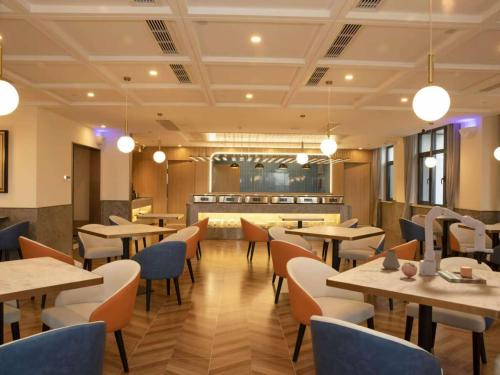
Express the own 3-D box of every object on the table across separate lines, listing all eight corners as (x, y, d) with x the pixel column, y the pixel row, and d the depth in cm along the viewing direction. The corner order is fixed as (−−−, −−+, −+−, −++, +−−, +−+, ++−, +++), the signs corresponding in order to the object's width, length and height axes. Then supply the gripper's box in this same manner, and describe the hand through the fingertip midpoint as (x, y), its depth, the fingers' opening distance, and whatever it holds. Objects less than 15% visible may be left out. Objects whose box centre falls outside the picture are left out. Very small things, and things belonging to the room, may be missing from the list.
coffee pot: (399, 268, 274) (400, 246, 274) (400, 271, 263) (400, 248, 264) (367, 265, 282) (368, 244, 282) (366, 268, 271) (367, 246, 271)
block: (463, 276, 241) (463, 267, 241) (460, 274, 246) (460, 266, 246) (472, 276, 241) (472, 268, 241) (468, 274, 246) (469, 266, 246)
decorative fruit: (420, 278, 242) (420, 262, 242) (411, 279, 238) (412, 263, 238) (407, 275, 250) (407, 259, 250) (398, 276, 246) (399, 260, 246)
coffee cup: (444, 269, 271) (444, 247, 271) (429, 269, 273) (429, 247, 273) (440, 267, 280) (440, 245, 280) (426, 266, 282) (426, 245, 282)
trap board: (449, 281, 234) (449, 278, 234) (437, 273, 257) (437, 270, 257) (486, 283, 231) (486, 280, 231) (471, 275, 254) (471, 272, 254)
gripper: (469, 242, 240) (469, 264, 240) (495, 242, 237) (495, 265, 237) (465, 240, 247) (464, 262, 247) (490, 241, 244) (490, 263, 244)
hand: (479, 263), depth 242 cm, fingers closed
